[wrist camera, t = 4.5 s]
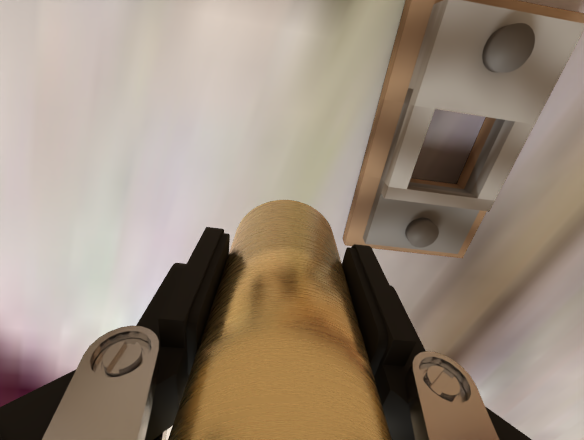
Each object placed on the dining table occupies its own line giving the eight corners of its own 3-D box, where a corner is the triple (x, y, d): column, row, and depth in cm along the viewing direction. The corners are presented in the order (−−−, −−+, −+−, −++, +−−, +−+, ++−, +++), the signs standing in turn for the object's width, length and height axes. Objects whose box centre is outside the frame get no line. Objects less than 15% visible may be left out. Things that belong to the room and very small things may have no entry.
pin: (323, 288, 12) (388, 670, 4) (232, 279, 12) (127, 671, 4) (343, 206, 11) (511, 599, 3) (237, 193, 10) (69, 593, 2)
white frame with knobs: (456, 251, 29) (479, 276, 26) (342, 238, 28) (350, 262, 25) (572, 17, 20) (634, 6, 16) (409, -15, 19) (438, -34, 15)
